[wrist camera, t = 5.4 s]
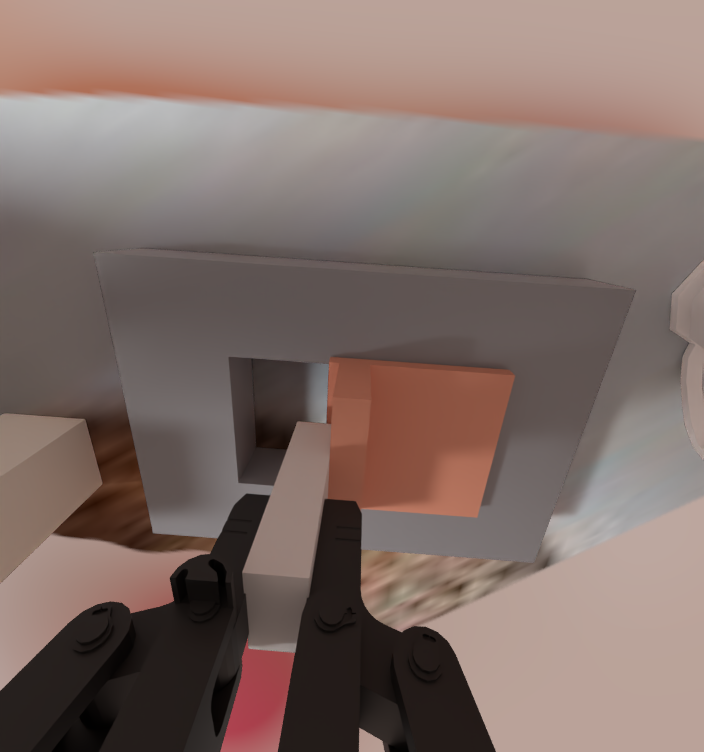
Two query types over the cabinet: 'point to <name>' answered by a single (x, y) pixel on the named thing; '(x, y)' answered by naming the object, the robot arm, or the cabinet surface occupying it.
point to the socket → (359, 341)
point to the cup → (691, 352)
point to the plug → (40, 480)
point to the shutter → (413, 434)
